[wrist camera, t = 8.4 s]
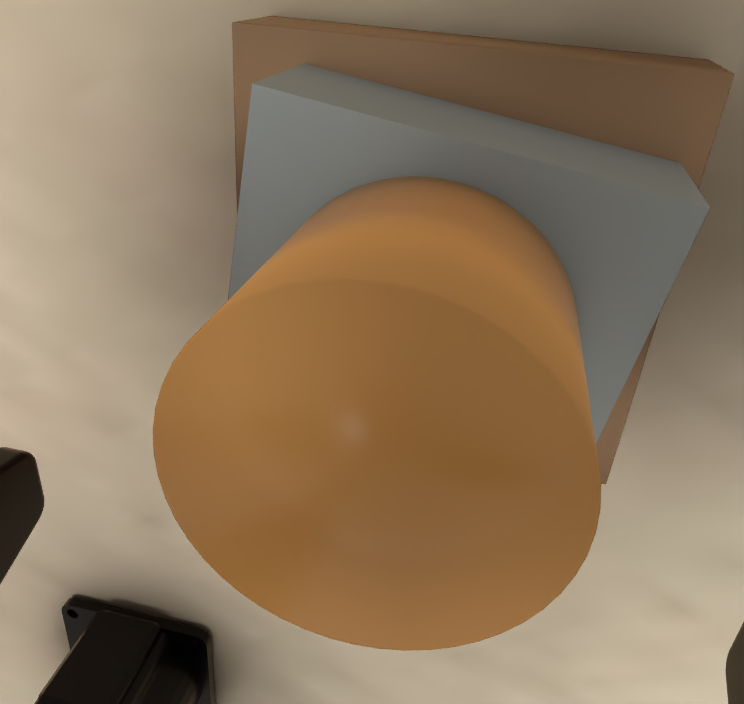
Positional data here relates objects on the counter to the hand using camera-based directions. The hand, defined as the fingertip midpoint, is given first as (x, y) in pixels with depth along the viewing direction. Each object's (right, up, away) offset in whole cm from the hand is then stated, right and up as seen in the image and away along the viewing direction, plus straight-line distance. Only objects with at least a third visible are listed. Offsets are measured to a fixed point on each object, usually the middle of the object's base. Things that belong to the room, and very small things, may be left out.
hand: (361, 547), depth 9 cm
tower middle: (+2, +4, +8) cm, 9 cm away
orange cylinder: (+1, +3, +5) cm, 6 cm away
